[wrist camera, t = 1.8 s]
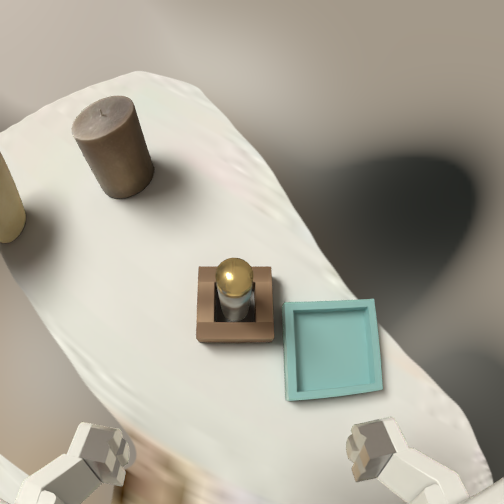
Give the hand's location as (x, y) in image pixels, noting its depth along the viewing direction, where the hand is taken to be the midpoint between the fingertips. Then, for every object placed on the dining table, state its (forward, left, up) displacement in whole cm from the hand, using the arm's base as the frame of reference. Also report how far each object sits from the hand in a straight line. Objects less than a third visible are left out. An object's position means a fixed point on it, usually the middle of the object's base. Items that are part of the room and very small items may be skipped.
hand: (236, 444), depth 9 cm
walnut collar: (+12, 0, -27) cm, 30 cm away
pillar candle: (+34, +19, -28) cm, 48 cm away
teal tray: (+6, -12, -27) cm, 31 cm away
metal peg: (+12, 0, -27) cm, 30 cm away
